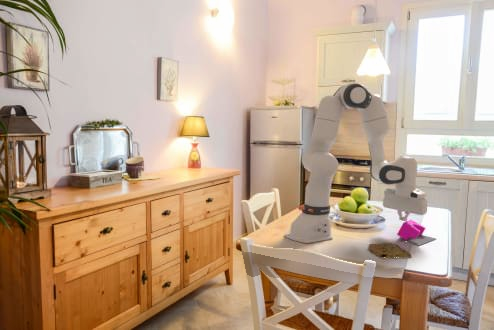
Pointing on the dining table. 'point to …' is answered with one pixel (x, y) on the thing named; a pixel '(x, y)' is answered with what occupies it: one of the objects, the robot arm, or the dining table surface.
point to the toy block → (410, 230)
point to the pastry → (388, 250)
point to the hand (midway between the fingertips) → (403, 220)
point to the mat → (420, 240)
